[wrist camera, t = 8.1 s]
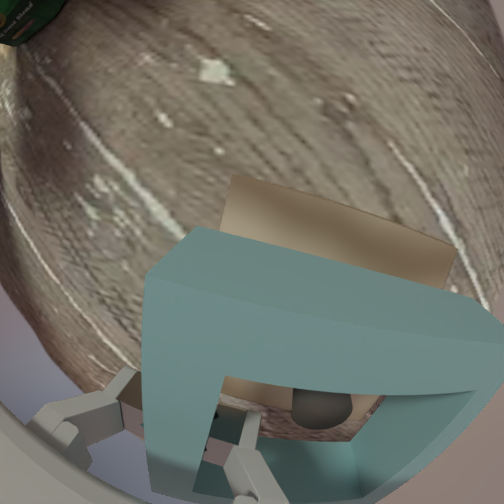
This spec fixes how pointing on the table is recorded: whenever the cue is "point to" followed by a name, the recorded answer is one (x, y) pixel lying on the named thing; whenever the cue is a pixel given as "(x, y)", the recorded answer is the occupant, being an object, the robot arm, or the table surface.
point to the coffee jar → (25, 18)
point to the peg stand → (335, 248)
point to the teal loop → (306, 365)
